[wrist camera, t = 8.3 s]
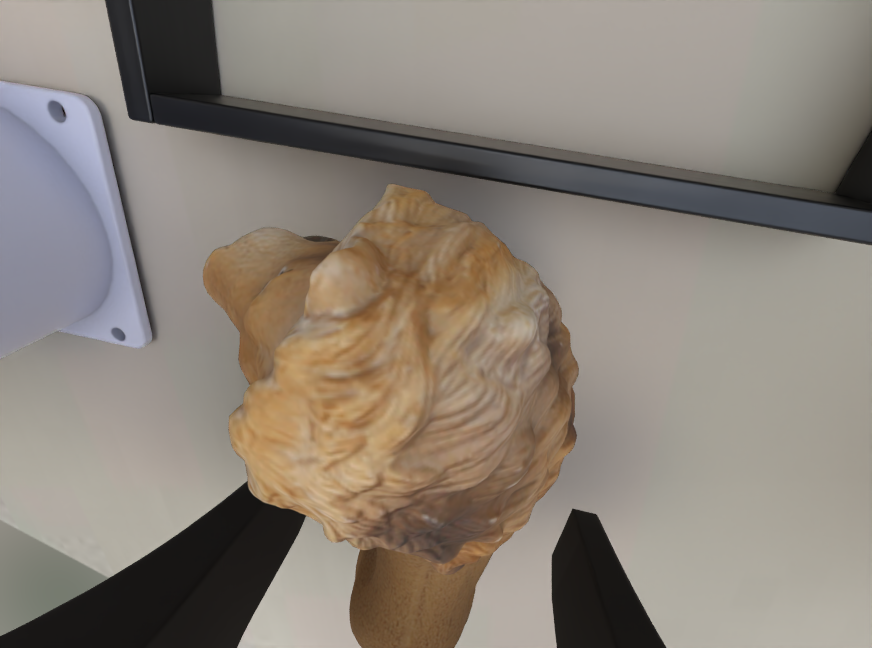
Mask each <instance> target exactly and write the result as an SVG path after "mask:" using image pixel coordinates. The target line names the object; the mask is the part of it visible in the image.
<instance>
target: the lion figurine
mask: <svg viewBox="0 0 872 648" xmlns="http://www.w3.org/2000/svg"><path fill="white" fill-rule="evenodd" d="M203 281H204V286H205V288H206V290H207V293H208V294H209V295H210V296H211V297H212V299H213V300H214V301H215V302H216V303H217V304H218V305H219V306H221V307H222V308H223V309H224V310H225V312H226V313H227V315H228V316H229V318H230V319H231V321H232V322H233V324H234V325H235V326H236V328H237V329H238V330H239V332H240V346H239V359H238V360H239V364H240V367H241V370H242V372H243V373H244V375H245V377H246V379H247V380H248V382H249V384H250V386H249V387H248V389H247V390H246V392H245V394H244V399H243V404H242V405H241V406H239V407H238V408H237V409H236V410H235V411H234V412H233V413H232V414H231V415H230V416H229V434H230V440H231V445H232V447H233V449H234V451H235V452H236V454H237V455H238V456H240V457H241V458H242V459H243V460H244V461H245V466H246V471H247V476H248V487H249V490H250V491H251V493H252V494H253V495H254V496H255V497H256V498H258V499H259V500H261V501H262V502H265V503H268V504H271V505H275V506H277V507H280V508H286V509H292V510H295V511H297V512H299V513H301V514H304V515H306V516H308V517H310V518H312V519H314V520H315V521H317V522H319V523H320V524H322V525H323V529H324V534H325V536H326V537H327V539H328V540H330V541H331V542H335V543H337V542H342V541H344V540H347V541H348V542H349V543H350V544H351V545H352V546H353V547H356V548H358V549H360V552H359V556H358V560H357V565H356V576H355V582H354V586H353V591H352V595H351V601H350V609H349V610H350V624H351V629H352V632H353V634H354V636H355V638H356V640H357V641H358V643H359V645H360V646H361V647H362V648H454V647H455V645H456V644H457V642H458V640H459V638H460V636H461V633H462V631H463V628H464V626H465V624H466V622H467V619H468V616H469V613H470V610H471V607H472V603H473V598H474V594H475V587H476V584H477V582H478V580H479V578H480V576H481V575H482V573H483V571H484V569H485V567H486V566H487V564H488V562H489V560H490V558H491V556H492V554H493V552H494V551H496V550H497V549H498V548H499V546H501V545H502V544H503V543H504V542H506V541H507V540H508V539H510V538H511V536H512V535H513V533H514V532H515V531H517V530H520V529H521V528H522V527H523V526H524V525H525V524H526V523H527V522H528V521H529V518H530V515H531V512H532V509H533V507H534V505H535V503H536V502H537V501H538V500H539V499H541V498H542V497H543V496H544V495H545V493H546V492H547V491H548V490H549V488H550V487H551V486H552V485H553V484H554V482H555V481H556V479H557V478H558V476H559V471H560V466H561V464H562V461H563V459H564V456H566V455H567V454H568V453H569V452H570V451H571V450H572V449H573V448H574V445H575V441H576V437H577V434H576V431H575V428H574V425H573V422H574V417H575V394H574V391H573V388H572V386H573V385H574V383H575V381H576V379H577V376H578V370H579V368H578V364H577V361H576V360H575V358H574V356H573V355H572V351H571V347H570V344H571V343H570V333H569V331H568V329H567V328H566V326H565V325H564V324H563V323H562V322H561V318H562V311H561V308H560V306H559V303H558V301H557V299H556V298H555V296H554V295H553V293H552V292H551V291H550V290H549V289H548V288H547V287H546V286H545V285H544V284H543V283H542V281H541V280H540V278H539V274H538V272H537V271H536V270H535V269H534V268H533V267H532V266H530V265H529V264H528V263H526V262H524V261H521V260H519V259H516V258H515V257H514V256H512V254H511V253H510V251H509V249H508V248H507V247H506V245H505V244H504V243H502V242H501V241H500V240H499V239H498V238H497V237H496V236H495V235H494V234H492V233H491V231H490V230H489V229H488V228H487V227H486V226H485V225H484V224H483V223H481V222H472V221H471V219H470V218H469V217H468V215H467V214H465V213H463V212H460V211H457V210H454V209H451V208H448V207H445V206H442V205H439V204H437V203H435V202H434V201H433V199H432V198H431V197H430V195H429V194H428V193H427V192H425V191H422V190H417V189H412V188H407V187H403V186H399V185H395V184H389V185H387V188H386V191H385V193H384V195H383V197H382V198H381V200H380V201H379V202H378V204H377V205H376V206H375V207H374V208H373V210H372V211H370V212H368V213H367V214H366V215H364V216H363V217H362V218H361V219H360V220H359V221H358V222H357V224H356V225H355V226H354V227H353V228H352V230H351V231H350V232H349V233H348V235H347V236H346V237H345V238H344V239H343V240H342V241H341V242H339V241H337V240H335V239H332V238H327V237H322V236H317V235H316V236H308V237H303V238H302V237H300V236H298V235H296V234H294V233H292V232H290V231H287V230H284V229H281V228H272V227H265V228H261V229H259V230H256V231H254V232H251V233H249V234H247V235H245V236H242V237H241V238H239V239H238V240H237V241H235V242H234V243H233V244H231V245H228V246H224V247H220V248H218V249H216V250H214V251H213V252H212V254H211V255H210V256H209V258H208V259H207V261H206V263H205V266H204V269H203Z"/></svg>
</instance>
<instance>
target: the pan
mask: <svg viewBox="0 0 872 648" xmlns="http://www.w3.org/2000/svg"><path fill="white" fill-rule="evenodd" d="M105 2H106V7H107V12H108V17H109V22H110V27H111V32H112V37H113V42H114V47H115V52H116V57H117V61H118V66H119V71H120V76H121V81H122V86H123V91H124V96H125V101H126V106H127V111H128V116H129V118H130V119H132V120H136V121H141V122H147V123H157V124H159V125H165V126H171V127H177V128H183V129H189V130H195V131H200V132H206V133H212V134H218V135H224V136H230V137H236V138H242V139H248V140H254V141H259V142H265V143H271V144H277V145H283V146H289V147H295V148H301V149H307V150H313V151H318V152H324V153H330V154H336V155H342V156H348V157H354V158H360V159H366V160H372V161H377V162H383V163H389V164H395V165H401V166H407V167H413V168H419V169H425V170H431V171H436V172H442V173H448V174H454V175H460V176H466V177H472V178H478V179H484V180H490V181H495V182H501V183H507V184H513V185H519V186H525V187H531V188H537V189H543V190H548V191H554V192H560V193H566V194H572V195H578V196H584V197H590V198H596V199H602V200H607V201H613V202H619V203H625V204H631V205H637V206H643V207H649V208H655V209H661V210H666V211H672V212H678V213H684V214H690V215H696V216H702V217H708V218H714V219H720V220H725V221H731V222H737V223H743V224H749V225H755V226H761V227H767V228H773V229H779V230H784V231H790V232H796V233H802V234H808V235H814V236H820V237H826V238H832V239H838V240H843V241H849V242H855V243H861V244H867V245H872V131H871V133H870V135H869V137H868V138H867V140H866V142H865V143H864V145H863V147H862V149H861V150H860V152H859V154H858V155H857V157H856V159H855V161H854V162H853V164H852V166H851V167H850V169H849V171H848V172H847V174H846V176H845V178H844V179H843V181H842V183H841V184H840V186H839V188H838V190H837V191H836V193H835V194H834V193H829V192H823V191H816V190H810V189H804V188H798V187H792V186H785V185H779V184H773V183H767V182H760V181H754V180H748V179H742V178H735V177H729V176H723V175H717V174H710V173H704V172H698V171H692V170H686V169H679V168H673V167H667V166H661V165H654V164H648V163H642V162H636V161H629V160H623V159H617V158H611V157H604V156H598V155H592V154H586V153H579V152H573V151H567V150H561V149H555V148H548V147H542V146H536V145H530V144H523V143H517V142H511V141H505V140H498V139H492V138H486V137H480V136H473V135H467V134H461V133H455V132H448V131H442V130H436V129H430V128H424V127H417V126H411V125H405V124H399V123H392V122H386V121H380V120H374V119H367V118H361V117H355V116H349V115H342V114H336V113H330V112H324V111H318V110H311V109H305V108H299V107H293V106H286V105H280V104H274V103H268V102H261V101H255V100H249V99H243V98H236V97H230V96H224V95H221V92H220V83H219V73H218V63H217V54H216V44H215V35H214V25H213V15H212V6H211V0H105Z"/></svg>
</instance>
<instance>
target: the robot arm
mask: <svg viewBox="0 0 872 648" xmlns="http://www.w3.org/2000/svg"><path fill="white" fill-rule="evenodd" d="M62 107H63V108H64V110H65V113H66V116H65V115H64V113H63V111H62ZM57 331H60V332H65V333H69V334H74V335H78V336H83V337H87V338H92V339H96V340H101V341H105V342H110V343H114V344H119V345H123V346H128V347H132V348H142V347H144V346H146V345H147V344H149V343H150V342H151V341H152V332H151V328H150V323H149V319H148V315H147V310H146V306H145V302H144V297H143V293H142V289H141V284H140V280H139V276H138V271H137V267H136V263H135V258H134V254H133V250H132V246H131V241H130V237H129V233H128V228H127V224H126V220H125V215H124V211H123V207H122V202H121V198H120V194H119V189H118V185H117V181H116V176H115V172H114V168H113V163H112V159H111V155H110V150H109V146H108V142H107V137H106V133H105V129H104V124H103V120H102V116H101V113H100V111H99V109H98V107H97V106H96V104H95V103H94V102H93V101H92V100H91V99H90V98H89V97H87V96H85V95H82V94H79V93H73V92H67V91H61V90H55V89H49V88H43V87H37V86H31V85H25V84H19V83H13V82H7V81H1V80H0V359H1V358H3V357H5V356H8V355H10V354H12V353H14V352H16V351H18V350H20V349H22V348H24V347H26V346H28V345H30V344H32V343H34V342H36V341H38V340H40V339H42V338H44V337H46V336H48V335H50V334H52V333H54V332H57ZM305 517H306V515H304V514H301V513H299V512H297V511H295V510H292V509H286V508H280V507H277V506H275V505H271V504H268V503H265V502H262V501H261V500H259V499H258V498H256V497H255V496H254V495H253V494H252V493H251V491H250V490H249V487H248V481H247V482H246V483H244V484H243V485H242V486H241V487H239V488H238V489H237V490H236V491H235V492H233V493H232V494H231V495H230V496H228V497H227V498H226V499H225V500H223V501H222V502H221V503H220V504H218V505H217V506H216V507H214V508H213V509H212V510H210V511H209V512H208V513H206V514H205V515H204V516H202V517H201V518H200V519H198V520H197V521H195V522H194V523H193V524H191V525H190V526H189V527H187V528H186V529H185V530H183V531H182V532H180V533H179V534H177V535H176V536H175V537H173V538H172V539H170V540H169V541H167V542H166V543H164V544H163V545H161V546H160V547H158V548H157V549H155V550H154V551H152V552H151V553H149V554H148V555H146V556H144V557H143V558H141V559H140V560H138V561H137V562H135V563H133V564H132V565H130V566H128V567H127V568H125V569H123V570H122V571H120V572H118V573H117V574H115V575H114V576H112V577H110V578H109V579H107V580H105V581H104V582H102V583H100V584H99V585H97V586H95V587H93V588H91V589H90V590H88V591H86V592H84V593H83V594H81V595H79V596H77V597H75V598H73V599H71V600H69V601H68V602H66V603H64V604H62V605H60V606H58V607H56V608H55V609H53V610H51V611H49V612H47V613H45V614H43V615H42V616H40V617H38V618H36V619H34V620H32V621H30V622H29V623H26V624H25V625H22V626H20V627H18V628H16V629H14V630H12V631H10V632H8V633H6V634H4V635H2V636H0V648H237V646H238V644H239V642H240V640H241V638H242V636H243V634H244V632H245V630H246V628H247V626H248V624H249V622H250V620H251V618H252V616H253V614H254V613H255V611H256V609H257V607H258V605H259V604H260V602H261V600H262V598H263V596H264V595H265V593H266V591H267V589H268V587H269V586H270V584H271V582H272V580H273V579H274V577H275V575H276V573H277V571H278V570H279V568H280V566H281V564H282V562H283V561H284V559H285V557H286V555H287V553H288V552H289V550H290V548H291V546H292V544H293V543H294V541H295V539H296V537H297V535H298V533H299V531H300V529H301V527H302V524H303V522H304V520H305ZM552 604H553V614H554V624H555V634H556V643H557V648H666V646H665V645H664V643H663V641H662V639H661V638H660V636H659V634H658V633H657V631H656V629H655V627H654V626H653V624H652V622H651V620H650V618H649V617H648V615H647V613H646V611H645V609H644V607H643V606H642V604H641V602H640V600H639V598H638V596H637V594H636V593H635V591H634V589H633V587H632V585H631V583H630V581H629V579H628V577H627V575H626V574H625V572H624V570H623V568H622V566H621V564H620V562H619V560H618V558H617V555H616V553H615V551H614V549H613V547H612V545H611V543H610V541H609V539H608V537H607V535H606V533H605V530H604V528H603V526H602V524H601V522H600V520H599V518H598V516H597V515H596V514H593V513H589V512H584V511H580V510H576V509H572V511H571V514H570V516H569V518H568V520H567V523H566V525H565V527H564V529H563V532H562V534H561V536H560V538H559V541H558V543H557V545H556V547H555V550H554V552H553V554H552Z"/></svg>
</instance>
